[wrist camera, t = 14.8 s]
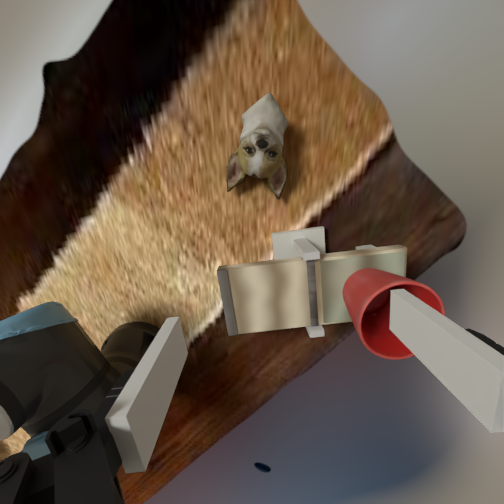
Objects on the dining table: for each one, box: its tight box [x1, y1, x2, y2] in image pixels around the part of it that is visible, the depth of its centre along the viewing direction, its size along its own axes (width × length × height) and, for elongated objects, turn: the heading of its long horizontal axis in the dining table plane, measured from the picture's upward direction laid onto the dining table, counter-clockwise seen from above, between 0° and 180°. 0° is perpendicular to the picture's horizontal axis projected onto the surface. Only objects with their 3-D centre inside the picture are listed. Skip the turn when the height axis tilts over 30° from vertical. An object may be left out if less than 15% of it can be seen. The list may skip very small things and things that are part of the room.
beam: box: [217, 245, 407, 336], centre depth 40 cm, size 30×12×3 cm, turn 97°
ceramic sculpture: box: [226, 93, 288, 200], centre depth 39 cm, size 11×9×15 cm
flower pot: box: [342, 268, 445, 360], centre depth 34 cm, size 11×11×10 cm
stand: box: [271, 226, 376, 338], centre depth 43 cm, size 20×18×11 cm
